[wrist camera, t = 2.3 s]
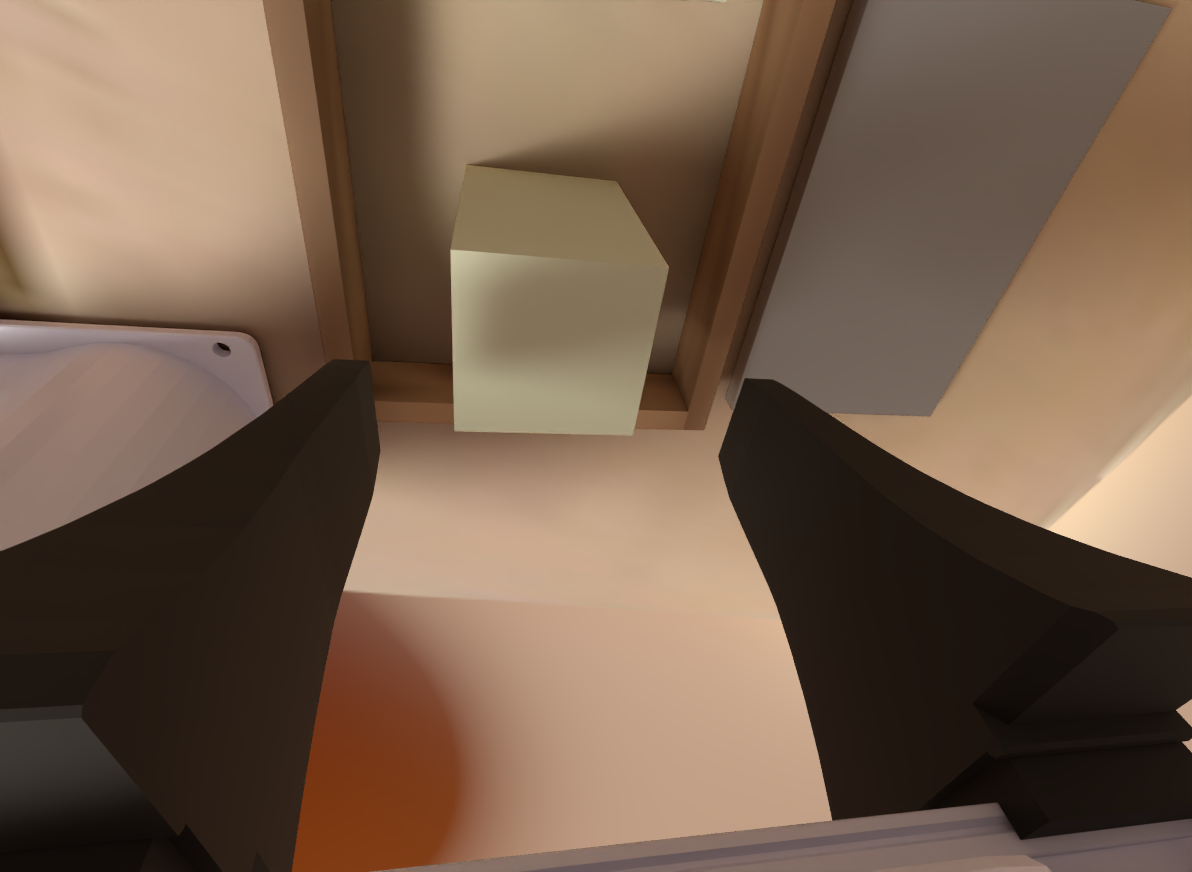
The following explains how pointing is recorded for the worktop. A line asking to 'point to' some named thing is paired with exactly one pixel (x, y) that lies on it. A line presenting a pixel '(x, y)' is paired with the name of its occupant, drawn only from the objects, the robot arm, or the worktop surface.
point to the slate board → (930, 188)
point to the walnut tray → (727, 257)
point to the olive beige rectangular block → (550, 304)
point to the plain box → (709, 0)
